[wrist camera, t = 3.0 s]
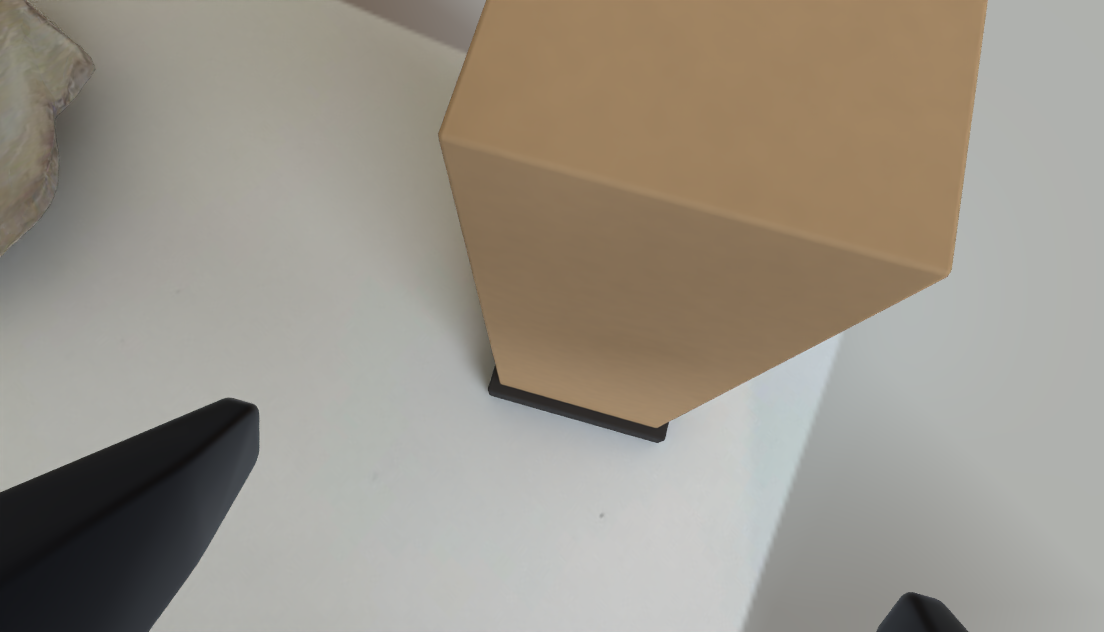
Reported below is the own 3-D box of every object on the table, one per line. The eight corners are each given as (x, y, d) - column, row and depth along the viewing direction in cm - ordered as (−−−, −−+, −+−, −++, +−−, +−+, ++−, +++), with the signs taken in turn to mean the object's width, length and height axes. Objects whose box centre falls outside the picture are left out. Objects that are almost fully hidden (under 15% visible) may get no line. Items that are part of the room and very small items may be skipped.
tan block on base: (696, 281, 23) (1038, -151, 8) (658, 443, 22) (982, 316, 6) (537, 237, 23) (554, -271, 8) (489, 395, 22) (394, 156, 6)
